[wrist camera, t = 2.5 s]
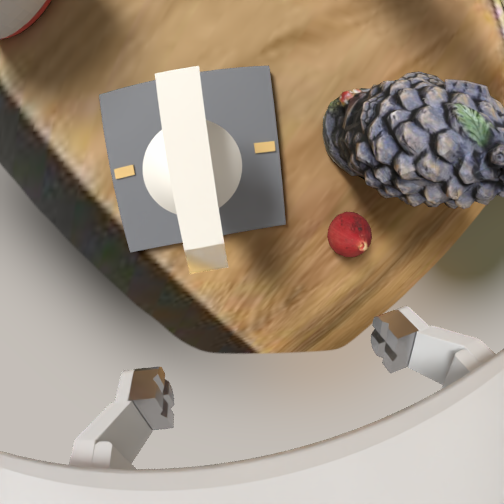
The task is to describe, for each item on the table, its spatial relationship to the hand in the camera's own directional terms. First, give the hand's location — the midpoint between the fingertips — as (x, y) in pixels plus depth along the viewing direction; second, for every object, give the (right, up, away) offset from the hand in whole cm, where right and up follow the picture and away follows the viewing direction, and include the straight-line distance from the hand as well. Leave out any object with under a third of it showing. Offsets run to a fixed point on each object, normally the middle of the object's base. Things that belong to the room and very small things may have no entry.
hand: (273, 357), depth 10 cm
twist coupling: (-6, +11, +14) cm, 19 cm away
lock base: (-8, +15, +23) cm, 29 cm away
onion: (+11, +8, +30) cm, 33 cm away
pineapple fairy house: (+17, +21, +26) cm, 37 cm away
